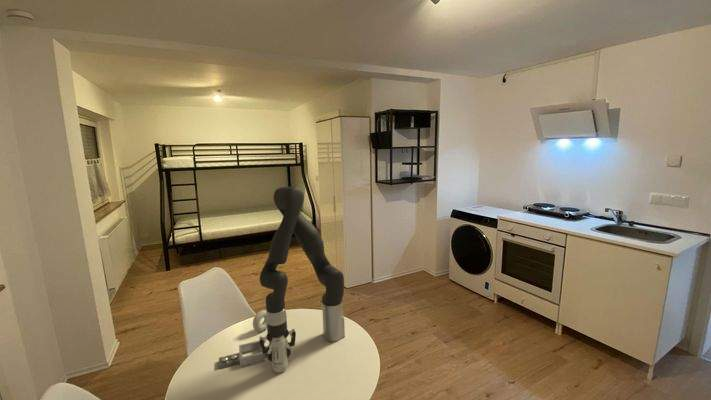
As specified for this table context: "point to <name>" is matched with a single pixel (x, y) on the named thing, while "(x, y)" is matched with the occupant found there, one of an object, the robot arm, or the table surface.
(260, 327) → the donut
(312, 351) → the table surface
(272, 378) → the table surface
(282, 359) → the energy drink can
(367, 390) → the table surface
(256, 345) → the mounting bracket
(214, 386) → the table surface
